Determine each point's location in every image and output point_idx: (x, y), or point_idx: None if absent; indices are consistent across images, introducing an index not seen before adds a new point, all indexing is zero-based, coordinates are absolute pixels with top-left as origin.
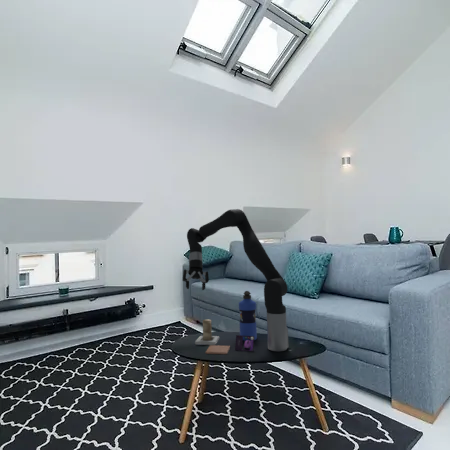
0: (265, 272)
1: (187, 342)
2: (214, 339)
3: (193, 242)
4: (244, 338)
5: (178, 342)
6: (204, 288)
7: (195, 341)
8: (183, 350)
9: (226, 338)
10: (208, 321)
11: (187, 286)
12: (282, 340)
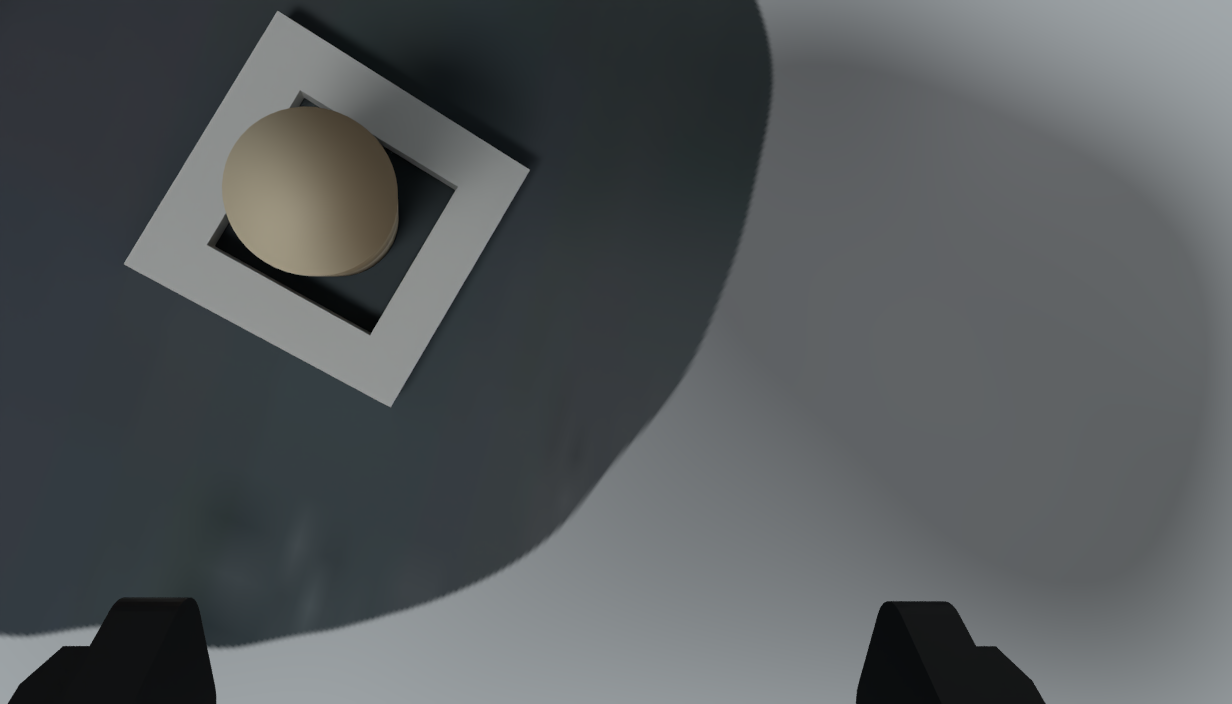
0: None
1: (589, 306)
2: None
3: None
4: None
5: (688, 355)
6: (97, 649)
7: (524, 170)
8: (708, 21)
9: (15, 245)
10: (308, 107)
11: (976, 670)
12: None
